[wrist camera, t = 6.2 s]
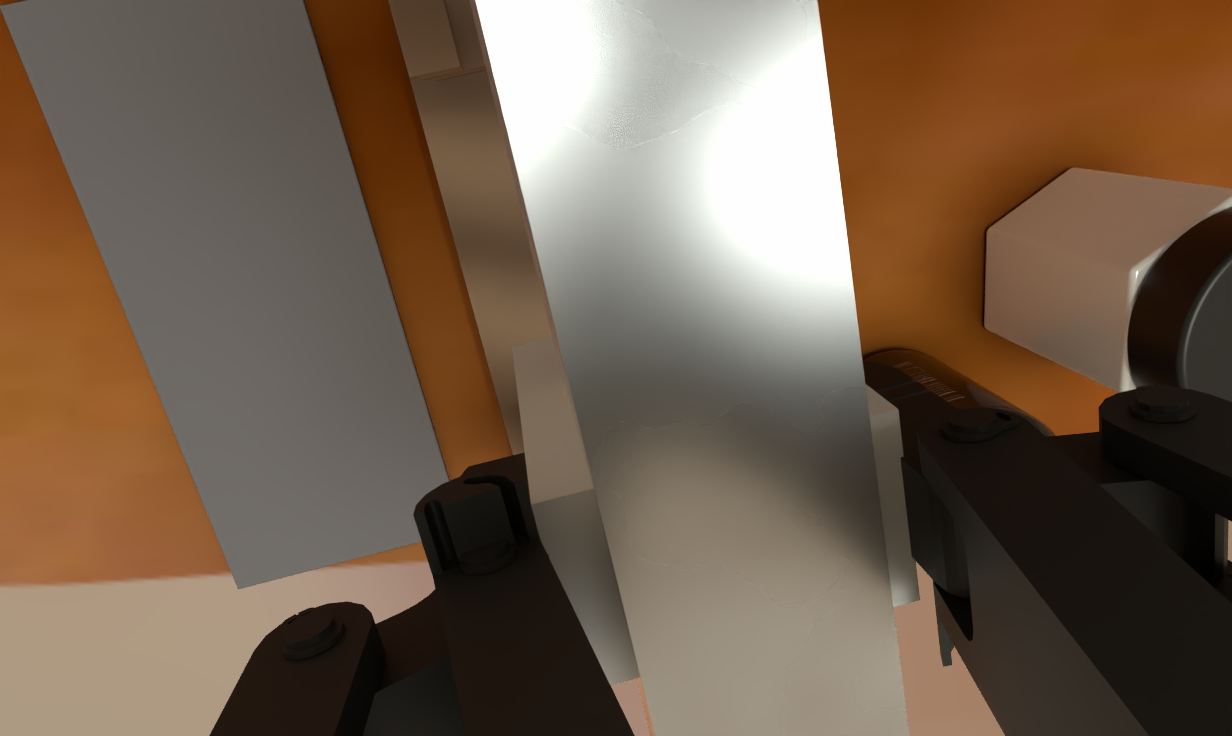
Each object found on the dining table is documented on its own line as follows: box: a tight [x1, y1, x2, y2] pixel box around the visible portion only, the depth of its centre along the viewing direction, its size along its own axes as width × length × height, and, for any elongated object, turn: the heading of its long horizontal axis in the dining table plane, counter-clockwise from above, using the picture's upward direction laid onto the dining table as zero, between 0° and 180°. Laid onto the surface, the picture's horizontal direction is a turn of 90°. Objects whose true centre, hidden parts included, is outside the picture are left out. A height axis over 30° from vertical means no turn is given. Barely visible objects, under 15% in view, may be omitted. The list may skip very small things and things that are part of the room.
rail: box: [469, 0, 909, 736], centre depth 12 cm, size 20×3×5 cm, turn 12°
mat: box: [0, 0, 450, 589], centre depth 35 cm, size 24×10×1 cm, turn 12°
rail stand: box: [388, 0, 558, 455], centre depth 29 cm, size 22×8×14 cm, turn 12°
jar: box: [984, 167, 1232, 402], centre depth 34 cm, size 9×8×12 cm
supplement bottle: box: [862, 350, 1055, 436], centre depth 35 cm, size 7×7×12 cm
